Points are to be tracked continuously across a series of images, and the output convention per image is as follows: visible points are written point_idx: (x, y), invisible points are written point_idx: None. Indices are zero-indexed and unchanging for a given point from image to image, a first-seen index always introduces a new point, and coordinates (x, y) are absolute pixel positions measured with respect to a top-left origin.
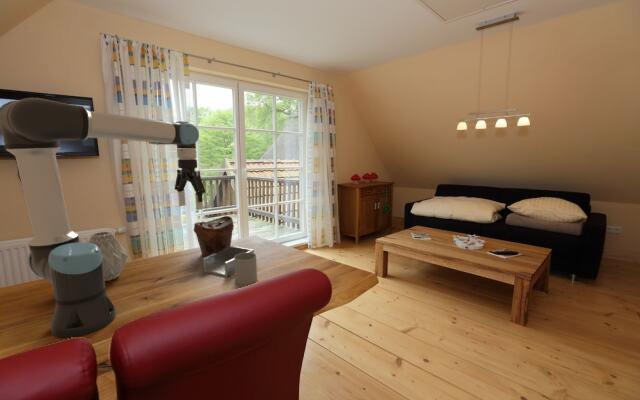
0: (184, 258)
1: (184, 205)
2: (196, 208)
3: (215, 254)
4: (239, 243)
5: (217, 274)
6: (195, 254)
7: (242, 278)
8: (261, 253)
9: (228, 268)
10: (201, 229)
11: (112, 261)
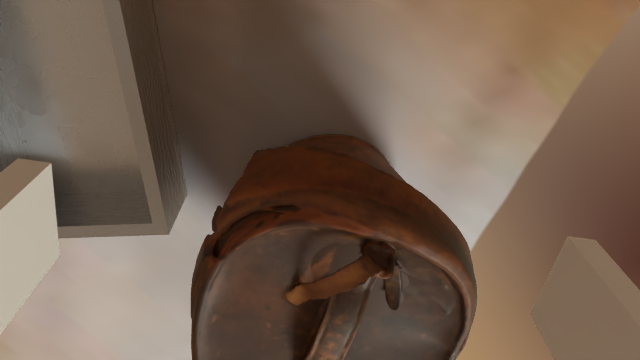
0: (437, 66)
1: (538, 301)
2: (24, 172)
3: (120, 74)
4: None
5: None
6: (426, 142)
7: None
8: (114, 298)
9: None
10: (304, 193)
11: None
